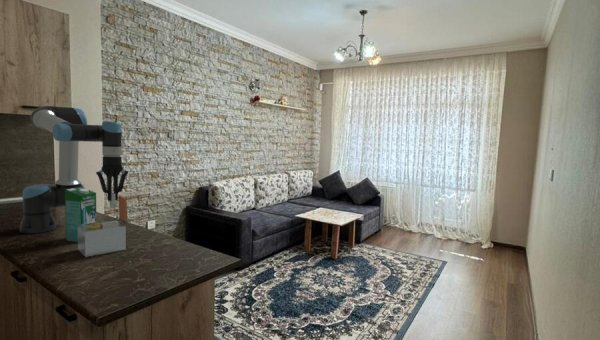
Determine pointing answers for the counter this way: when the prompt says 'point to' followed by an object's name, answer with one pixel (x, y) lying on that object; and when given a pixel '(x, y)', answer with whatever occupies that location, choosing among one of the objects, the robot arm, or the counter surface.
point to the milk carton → (79, 210)
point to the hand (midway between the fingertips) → (112, 207)
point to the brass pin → (94, 225)
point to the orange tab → (122, 209)
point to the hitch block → (102, 239)
